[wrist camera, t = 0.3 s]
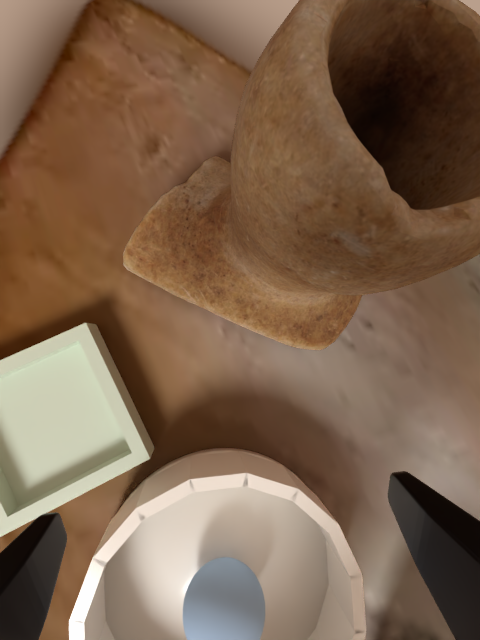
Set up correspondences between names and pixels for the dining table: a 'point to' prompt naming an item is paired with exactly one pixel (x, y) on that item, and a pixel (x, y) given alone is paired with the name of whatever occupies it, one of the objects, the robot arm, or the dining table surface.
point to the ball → (224, 602)
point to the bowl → (221, 552)
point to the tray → (63, 424)
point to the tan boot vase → (331, 172)
